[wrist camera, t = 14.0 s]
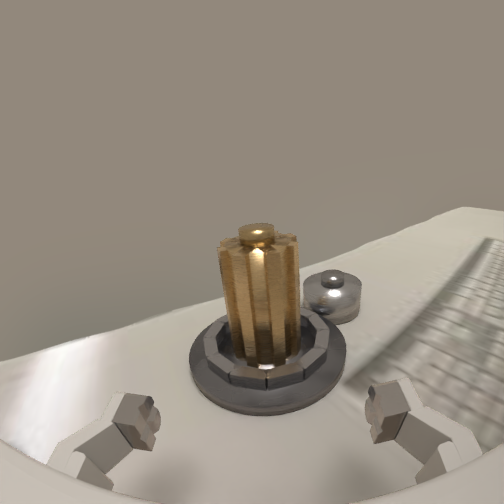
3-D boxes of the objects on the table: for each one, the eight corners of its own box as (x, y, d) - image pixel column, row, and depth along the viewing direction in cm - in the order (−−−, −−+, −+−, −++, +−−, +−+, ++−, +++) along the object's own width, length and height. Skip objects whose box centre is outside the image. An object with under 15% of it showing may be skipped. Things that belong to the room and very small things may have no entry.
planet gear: (283, 321, 26) (276, 214, 23) (312, 354, 21) (312, 229, 18) (226, 337, 24) (208, 226, 21) (245, 376, 19) (226, 246, 16)
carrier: (267, 303, 32) (265, 284, 31) (371, 345, 22) (375, 322, 22) (165, 358, 24) (158, 337, 23) (268, 447, 14) (266, 427, 14)
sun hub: (324, 290, 33) (324, 259, 32) (368, 304, 29) (371, 270, 27) (292, 312, 29) (290, 278, 28) (340, 331, 25) (343, 294, 24)
